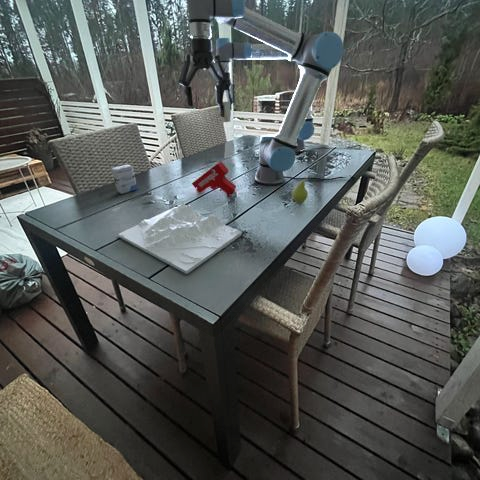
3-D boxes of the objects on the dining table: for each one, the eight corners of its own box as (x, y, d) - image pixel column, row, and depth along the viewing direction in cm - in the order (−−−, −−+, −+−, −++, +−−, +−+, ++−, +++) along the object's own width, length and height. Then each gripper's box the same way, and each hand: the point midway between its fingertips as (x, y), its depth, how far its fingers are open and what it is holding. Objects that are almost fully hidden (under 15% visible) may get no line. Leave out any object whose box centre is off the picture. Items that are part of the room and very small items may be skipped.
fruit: (288, 200, 123) (290, 174, 116) (302, 197, 125) (305, 172, 119) (296, 206, 118) (299, 179, 111) (310, 203, 120) (314, 177, 114)
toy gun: (240, 187, 127) (221, 160, 123) (237, 190, 124) (218, 163, 120) (214, 205, 137) (195, 180, 133) (210, 208, 134) (191, 183, 130)
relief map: (186, 274, 80) (184, 260, 77) (118, 236, 97) (114, 224, 95) (241, 234, 98) (241, 222, 95) (176, 209, 116) (174, 198, 113)
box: (220, 121, 169) (219, 101, 163) (226, 120, 171) (225, 101, 165) (225, 122, 166) (224, 102, 160) (231, 121, 168) (230, 101, 162)
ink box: (133, 186, 138) (127, 163, 132) (137, 189, 135) (132, 165, 129) (116, 191, 133) (110, 167, 127) (121, 194, 130) (114, 170, 124)
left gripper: (173, 36, 88) (181, 107, 100) (235, 39, 101) (236, 102, 112) (164, 37, 93) (172, 106, 105) (224, 40, 106) (226, 101, 117)
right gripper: (214, 72, 147) (217, 118, 160) (240, 71, 156) (240, 115, 169) (207, 72, 152) (210, 117, 165) (232, 71, 161) (233, 114, 174)
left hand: (205, 104), depth 109 cm, fingers open, 13 cm apart
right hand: (225, 116), depth 167 cm, fingers closed on box, 4 cm apart
